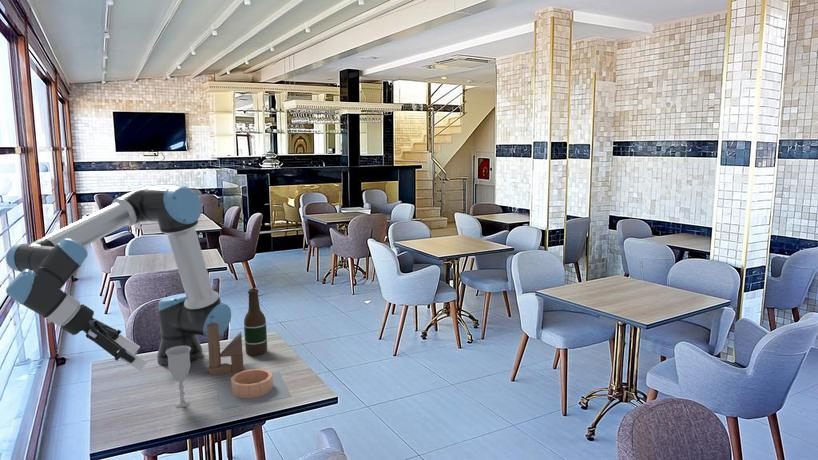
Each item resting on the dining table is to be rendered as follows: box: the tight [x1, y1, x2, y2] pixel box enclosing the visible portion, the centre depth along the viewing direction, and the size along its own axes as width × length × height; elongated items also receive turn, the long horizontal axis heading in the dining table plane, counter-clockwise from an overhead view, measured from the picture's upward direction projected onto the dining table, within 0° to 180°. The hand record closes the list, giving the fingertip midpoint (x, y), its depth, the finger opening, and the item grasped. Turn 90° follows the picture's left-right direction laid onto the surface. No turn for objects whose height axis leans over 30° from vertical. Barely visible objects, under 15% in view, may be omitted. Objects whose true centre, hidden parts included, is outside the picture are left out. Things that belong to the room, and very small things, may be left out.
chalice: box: [166, 346, 191, 413], centre depth 161 cm, size 7×7×18 cm
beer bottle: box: [243, 288, 268, 357], centre depth 204 cm, size 8×8×24 cm
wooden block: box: [207, 323, 245, 376], centre depth 185 cm, size 4×11×18 cm, turn 105°
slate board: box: [215, 371, 292, 410], centre depth 172 cm, size 20×20×2 cm
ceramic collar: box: [230, 368, 273, 398], centre depth 171 cm, size 12×12×4 cm
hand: (140, 358), depth 154 cm, fingers open, 13 cm apart
